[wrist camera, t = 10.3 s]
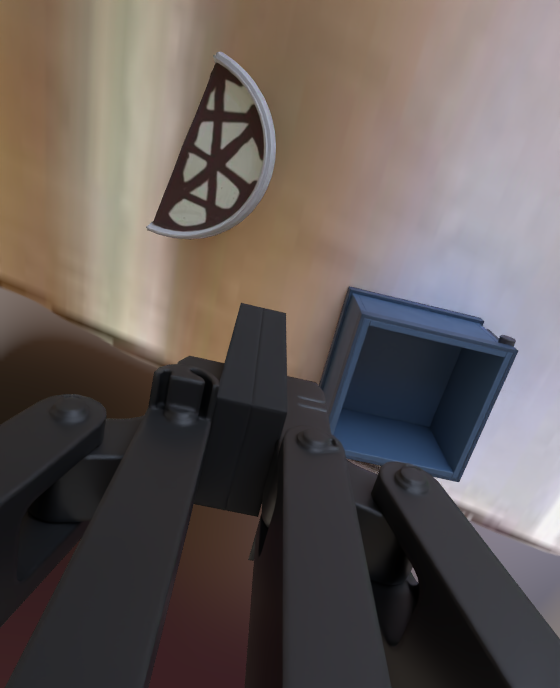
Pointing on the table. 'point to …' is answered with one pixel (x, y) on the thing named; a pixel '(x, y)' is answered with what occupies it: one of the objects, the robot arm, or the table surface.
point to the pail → (412, 382)
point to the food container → (220, 158)
